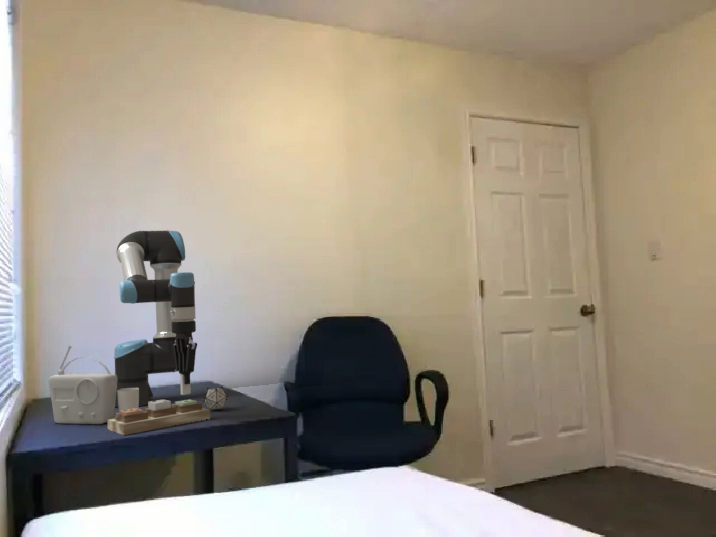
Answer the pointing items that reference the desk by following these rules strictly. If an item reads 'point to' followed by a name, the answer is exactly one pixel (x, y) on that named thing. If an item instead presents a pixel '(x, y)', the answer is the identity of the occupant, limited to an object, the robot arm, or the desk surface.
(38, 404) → the desk surface
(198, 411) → the button console
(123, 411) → the button three dots
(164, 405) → the button two dots
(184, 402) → the button one dot
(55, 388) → the radio
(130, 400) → the drinking glass
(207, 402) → the game die
